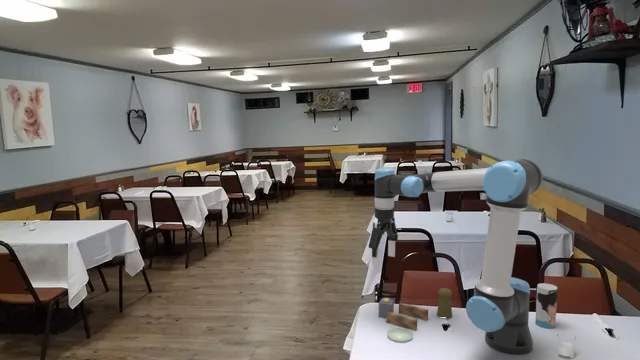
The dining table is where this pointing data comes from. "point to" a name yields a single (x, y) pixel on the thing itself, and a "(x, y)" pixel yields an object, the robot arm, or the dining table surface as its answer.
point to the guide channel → (407, 321)
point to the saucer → (400, 335)
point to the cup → (546, 305)
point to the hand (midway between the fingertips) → (383, 260)
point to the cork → (444, 303)
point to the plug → (385, 307)
